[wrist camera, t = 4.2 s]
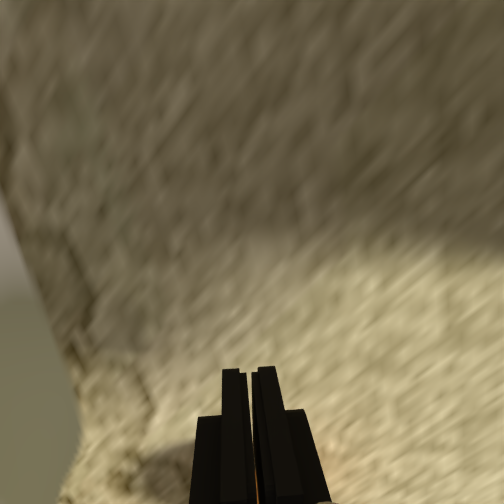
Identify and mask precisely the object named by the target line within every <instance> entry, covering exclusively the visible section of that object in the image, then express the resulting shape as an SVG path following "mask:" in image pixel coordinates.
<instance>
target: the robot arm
mask: <svg viewBox="0 0 504 504" xmlns="http://www.w3.org/2000/svg"><path fill="white" fill-rule="evenodd" d="M251 377H252V419H253V443H252V431H251V420H250V409H249V398H248V387H247V375H246V373H240V372H239V368H236V369H222V415H217V416H203V417H198V421H197V429H196V439H195V449H194V459H193V468H192V478H191V488H190V498H189V504H257V491H258V502H259V504H337V503H333V502H332V501H331V498H330V494H329V491H328V487H327V484H326V481H325V477H324V474H323V471H322V467H321V464H320V460H319V457H318V454H317V450H316V447H315V443H314V440H313V437H312V433H311V430H310V427H309V423H308V420H307V416H306V414H305V411H304V409H296V410H285V409H284V404H283V400H282V395H281V391H280V386H279V382H278V377H277V373H276V368H275V366H266V367H258V372H252V373H251ZM253 447H254V454H253ZM254 458H255V465H254ZM255 469H256V476H255ZM256 480H257V488H256Z"/></svg>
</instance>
